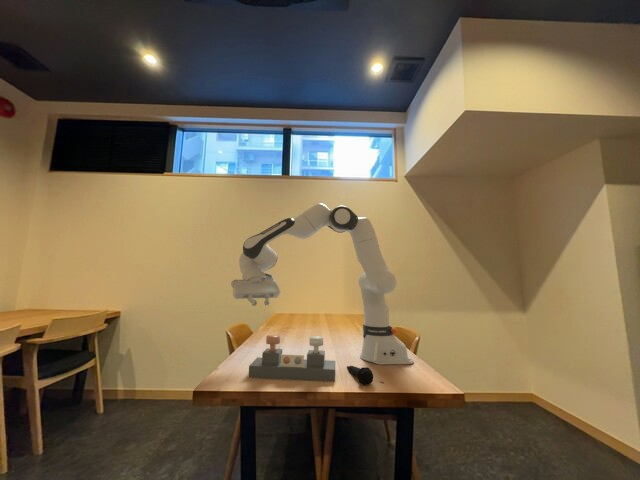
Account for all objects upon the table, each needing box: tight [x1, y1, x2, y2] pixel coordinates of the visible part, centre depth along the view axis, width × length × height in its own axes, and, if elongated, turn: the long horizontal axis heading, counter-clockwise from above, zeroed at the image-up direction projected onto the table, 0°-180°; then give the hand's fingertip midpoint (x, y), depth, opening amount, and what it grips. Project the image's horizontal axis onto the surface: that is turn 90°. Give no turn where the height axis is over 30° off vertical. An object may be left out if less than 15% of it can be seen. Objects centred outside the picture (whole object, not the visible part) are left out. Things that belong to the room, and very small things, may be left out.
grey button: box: [309, 335, 324, 354], centre depth 100 cm, size 5×5×6 cm
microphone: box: [346, 365, 374, 386], centre depth 99 cm, size 6×6×20 cm
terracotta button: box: [265, 334, 281, 352], centre depth 101 cm, size 5×5×6 cm
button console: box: [247, 347, 336, 383], centre depth 100 cm, size 30×10×8 cm, turn 86°
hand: (261, 304), depth 114 cm, fingers open, 4 cm apart
